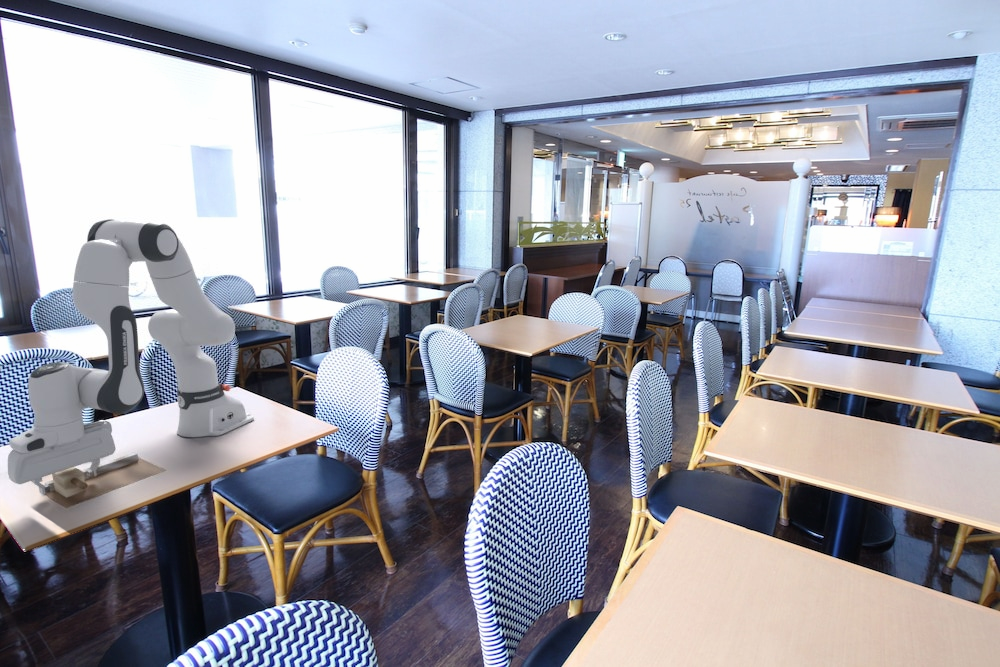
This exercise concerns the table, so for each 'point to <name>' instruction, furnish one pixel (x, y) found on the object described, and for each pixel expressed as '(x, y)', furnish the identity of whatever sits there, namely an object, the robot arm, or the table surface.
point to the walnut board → (108, 478)
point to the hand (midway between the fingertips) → (69, 484)
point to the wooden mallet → (69, 482)
